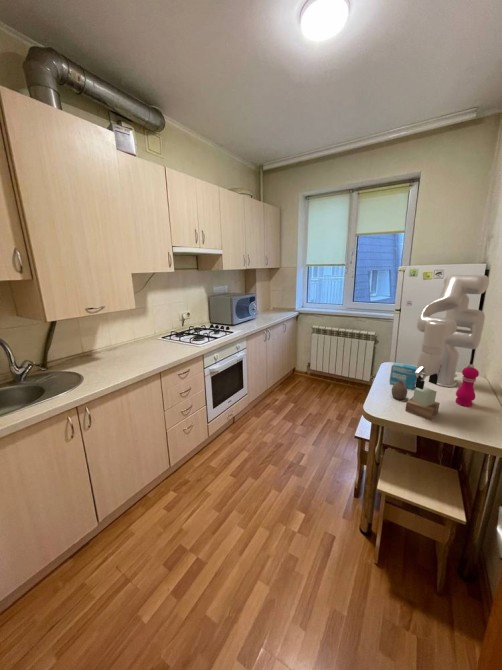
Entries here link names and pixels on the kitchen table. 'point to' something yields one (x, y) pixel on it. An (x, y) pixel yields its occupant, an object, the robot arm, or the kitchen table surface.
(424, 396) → the green cube
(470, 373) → the pepper mill
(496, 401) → the kitchen table surface
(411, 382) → the data package
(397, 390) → the vase
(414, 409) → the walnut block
